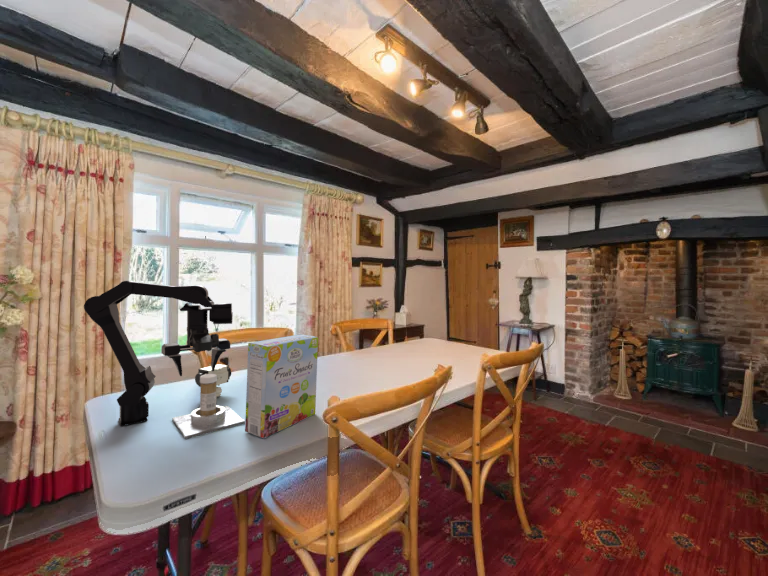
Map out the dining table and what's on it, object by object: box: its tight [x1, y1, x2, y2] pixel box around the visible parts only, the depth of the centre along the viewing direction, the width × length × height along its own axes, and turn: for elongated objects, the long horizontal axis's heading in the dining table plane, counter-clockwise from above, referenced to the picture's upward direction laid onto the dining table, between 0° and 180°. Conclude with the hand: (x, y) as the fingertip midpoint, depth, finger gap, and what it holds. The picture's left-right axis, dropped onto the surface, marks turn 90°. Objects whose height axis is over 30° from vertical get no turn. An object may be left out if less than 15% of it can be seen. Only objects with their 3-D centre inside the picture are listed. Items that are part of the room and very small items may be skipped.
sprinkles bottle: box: [199, 374, 217, 416], centre depth 105 cm, size 5×5×13 cm
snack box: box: [244, 333, 319, 439], centre depth 105 cm, size 22×9×26 cm, turn 151°
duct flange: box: [172, 405, 245, 440], centre depth 105 cm, size 16×16×3 cm
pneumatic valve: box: [194, 363, 232, 398], centre depth 127 cm, size 6×12×12 cm, turn 152°
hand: (197, 373), depth 111 cm, fingers open, 9 cm apart
